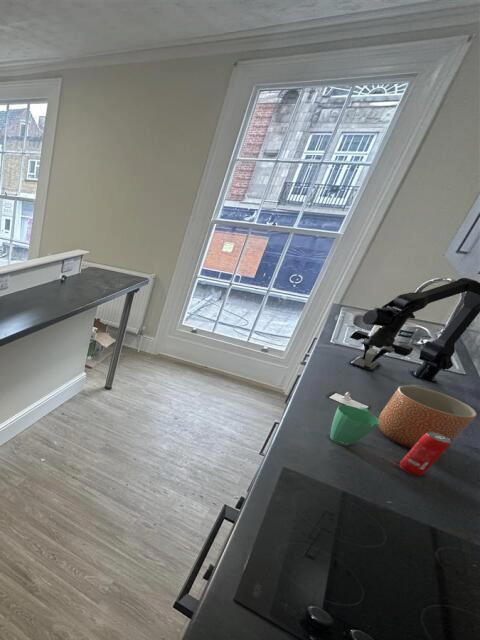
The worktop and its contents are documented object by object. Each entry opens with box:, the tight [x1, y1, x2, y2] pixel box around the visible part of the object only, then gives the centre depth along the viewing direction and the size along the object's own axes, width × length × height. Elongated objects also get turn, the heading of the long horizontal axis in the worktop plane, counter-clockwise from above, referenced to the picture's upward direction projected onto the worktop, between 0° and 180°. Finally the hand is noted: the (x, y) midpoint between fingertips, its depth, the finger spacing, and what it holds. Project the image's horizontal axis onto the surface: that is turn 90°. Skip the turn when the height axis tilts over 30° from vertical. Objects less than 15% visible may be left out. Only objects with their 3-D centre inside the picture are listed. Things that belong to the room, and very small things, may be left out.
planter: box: [377, 385, 478, 450], centre depth 123 cm, size 17×17×15 cm
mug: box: [329, 404, 380, 447], centre depth 122 cm, size 15×10×10 cm
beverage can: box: [399, 432, 452, 476], centre depth 111 cm, size 5×5×12 cm
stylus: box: [363, 347, 379, 368], centre depth 167 cm, size 2×2×13 cm
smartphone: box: [350, 355, 381, 372], centre depth 176 cm, size 7×1×15 cm
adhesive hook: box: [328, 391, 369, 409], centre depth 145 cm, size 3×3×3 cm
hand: (367, 360), depth 167 cm, fingers closed on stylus, 2 cm apart
